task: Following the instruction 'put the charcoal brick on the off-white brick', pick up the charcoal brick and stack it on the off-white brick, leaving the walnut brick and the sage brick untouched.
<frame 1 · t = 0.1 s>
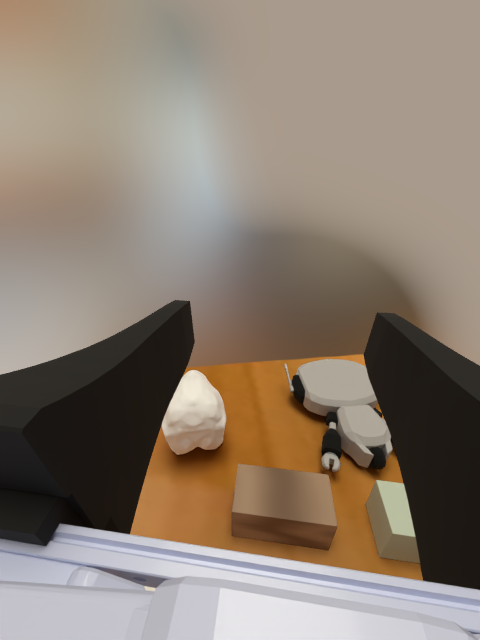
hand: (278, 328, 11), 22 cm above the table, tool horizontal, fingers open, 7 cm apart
white lumpy piece: (196, 425, 33), on the table
robot toy: (342, 421, 34), on the table
walnut brick: (279, 517, 25), on the table
sage brick: (420, 537, 23), on the table
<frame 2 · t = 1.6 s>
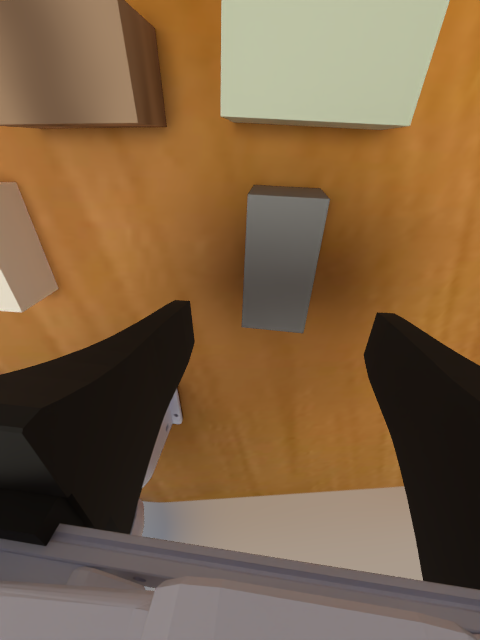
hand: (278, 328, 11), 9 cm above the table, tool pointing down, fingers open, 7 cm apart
off-white brick: (17, 239, 21), on the table
walnut brick: (93, 83, 15), on the table
charcoal brick: (279, 250, 19), on the table
sage brick: (312, 78, 14), on the table
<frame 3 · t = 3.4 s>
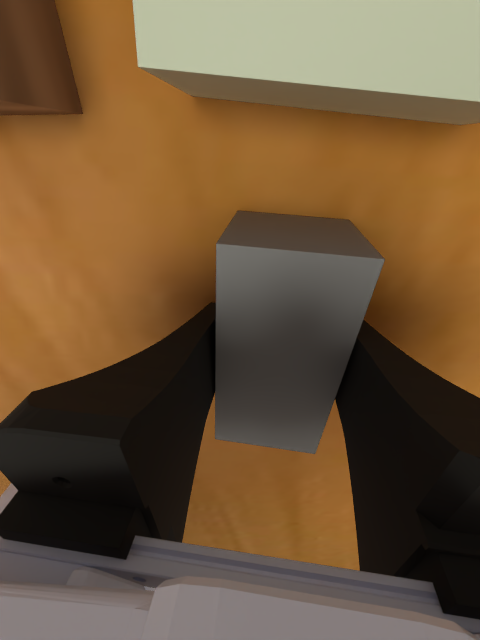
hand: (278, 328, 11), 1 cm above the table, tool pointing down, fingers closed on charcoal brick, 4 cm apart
charcoal brick: (278, 309, 12), on the table, touching gripper
sage brick: (341, 16, 7), on the table
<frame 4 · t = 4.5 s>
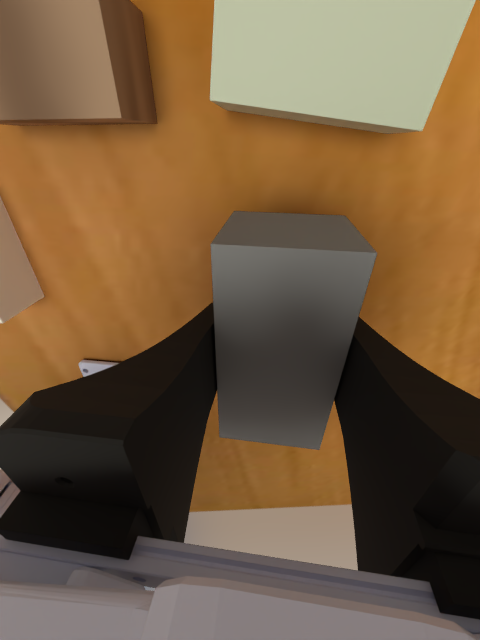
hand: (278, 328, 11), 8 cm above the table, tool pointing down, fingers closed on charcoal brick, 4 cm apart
walnut brick: (75, 75, 14), on the table
charcoal brick: (278, 307, 12), point 6 cm above the table, touching gripper
sage brick: (317, 68, 12), on the table
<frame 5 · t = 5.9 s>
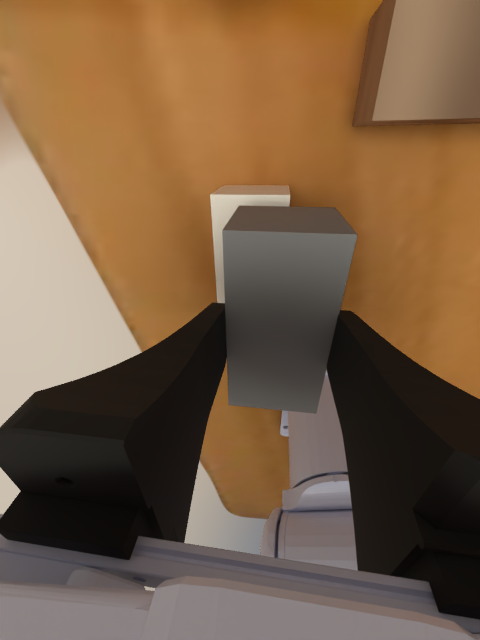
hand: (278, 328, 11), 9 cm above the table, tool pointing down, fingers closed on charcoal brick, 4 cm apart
off-white brick: (254, 248, 19), on the table
walnut brick: (445, 73, 13), on the table
charcoal brick: (278, 291, 14), point 6 cm above the table, touching gripper
when the fingers open (6 cm above the table, at t = 7.5 s): charcoal brick stays where it is, point 4 cm above the table.
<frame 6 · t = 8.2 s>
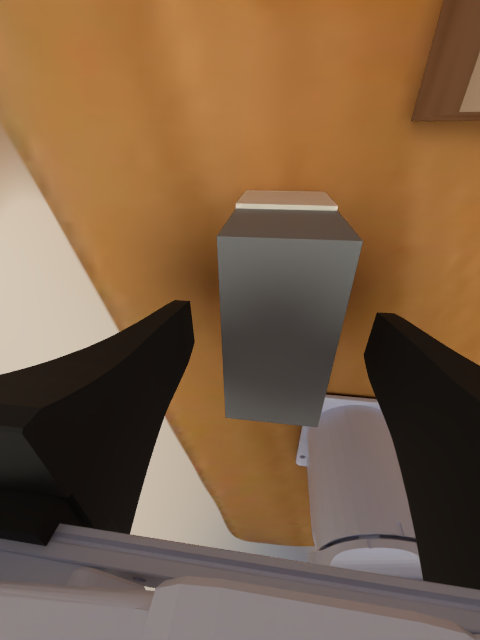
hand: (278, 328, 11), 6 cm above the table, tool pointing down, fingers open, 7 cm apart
off-white brick: (278, 263, 16), on the table
charcoal brick: (278, 298, 13), point 4 cm above the table
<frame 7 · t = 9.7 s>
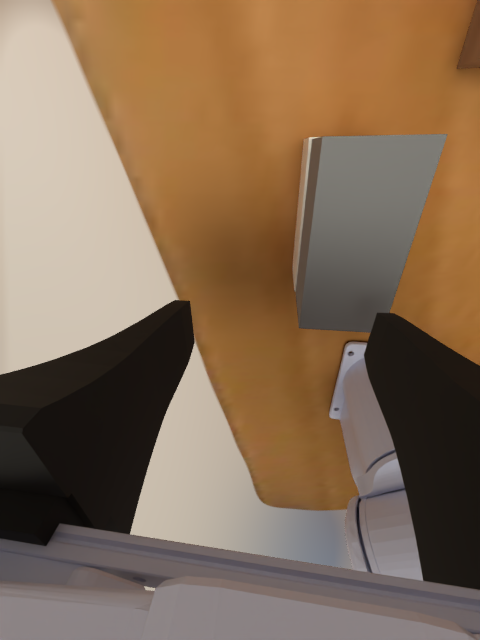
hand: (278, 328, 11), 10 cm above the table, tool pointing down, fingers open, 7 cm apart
off-white brick: (328, 211, 18), on the table, touching charcoal brick
charcoal brick: (340, 227, 15), point 4 cm above the table, touching off-white brick
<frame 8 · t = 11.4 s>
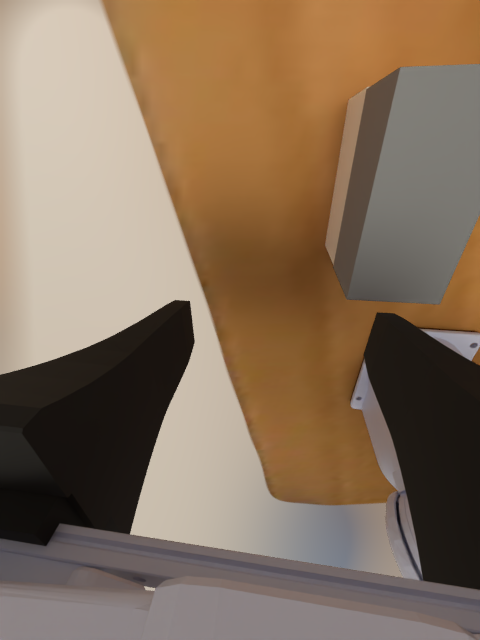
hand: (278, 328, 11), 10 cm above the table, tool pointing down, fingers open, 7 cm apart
off-white brick: (368, 181, 17), on the table, touching charcoal brick
charcoal brick: (388, 192, 14), point 4 cm above the table, touching off-white brick
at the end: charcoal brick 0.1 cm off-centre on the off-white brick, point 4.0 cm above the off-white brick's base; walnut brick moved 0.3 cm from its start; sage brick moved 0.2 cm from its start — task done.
